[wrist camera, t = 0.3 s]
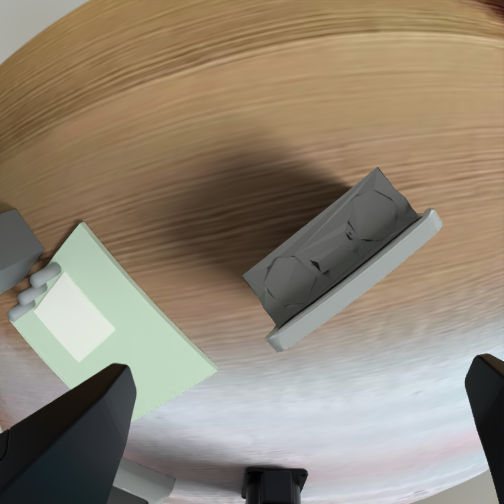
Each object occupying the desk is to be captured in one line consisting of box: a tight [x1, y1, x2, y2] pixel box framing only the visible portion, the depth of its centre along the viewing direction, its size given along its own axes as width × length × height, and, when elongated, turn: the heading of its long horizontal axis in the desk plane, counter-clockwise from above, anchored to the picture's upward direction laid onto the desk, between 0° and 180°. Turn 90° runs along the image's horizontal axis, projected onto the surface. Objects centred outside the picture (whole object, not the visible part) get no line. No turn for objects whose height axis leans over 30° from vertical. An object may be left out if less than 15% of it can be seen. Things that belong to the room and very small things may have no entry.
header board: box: [7, 222, 218, 422], centre depth 22 cm, size 15×14×4 cm
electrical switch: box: [242, 167, 443, 352], centre depth 17 cm, size 9×5×9 cm, turn 130°
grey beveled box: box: [107, 457, 175, 504], centre depth 29 cm, size 10×4×15 cm
